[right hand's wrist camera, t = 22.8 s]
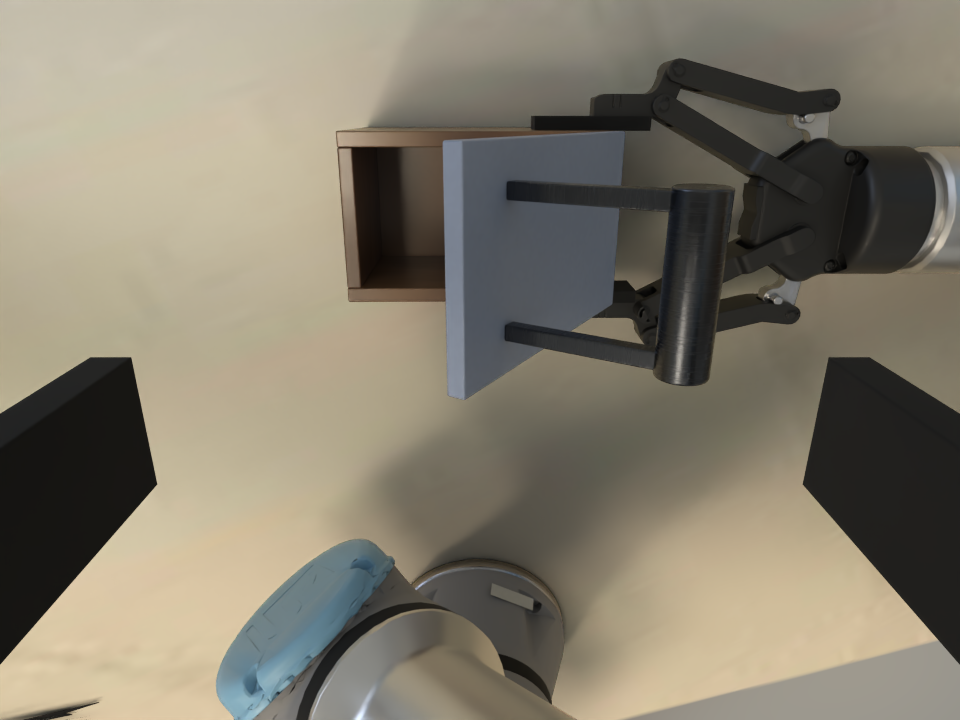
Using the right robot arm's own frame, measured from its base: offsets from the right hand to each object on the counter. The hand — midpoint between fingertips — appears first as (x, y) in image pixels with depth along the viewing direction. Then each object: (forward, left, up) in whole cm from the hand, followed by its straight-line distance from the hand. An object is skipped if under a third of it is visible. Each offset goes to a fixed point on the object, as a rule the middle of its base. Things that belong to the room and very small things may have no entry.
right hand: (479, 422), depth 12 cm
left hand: (+2, -3, -29) cm, 29 cm away
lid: (+2, -2, -18) cm, 18 cm away
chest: (0, 0, -35) cm, 35 cm away
